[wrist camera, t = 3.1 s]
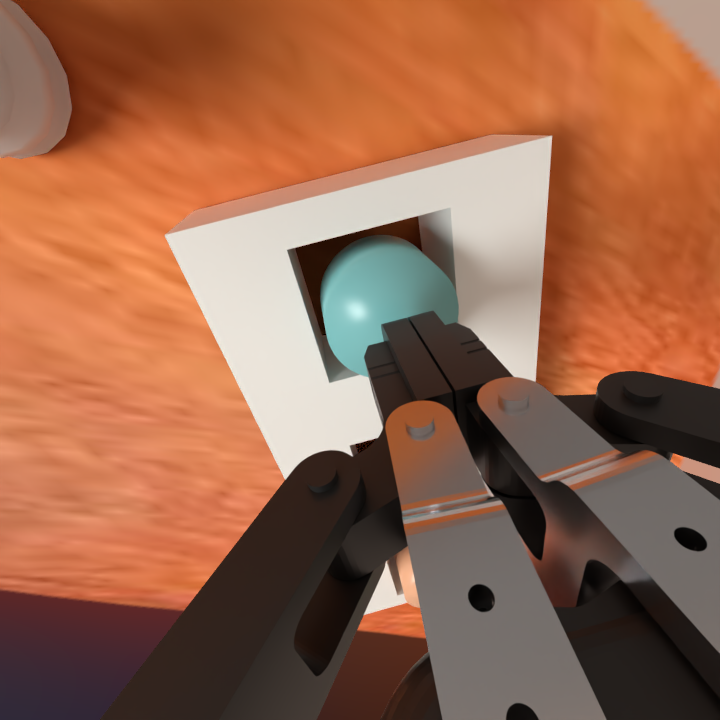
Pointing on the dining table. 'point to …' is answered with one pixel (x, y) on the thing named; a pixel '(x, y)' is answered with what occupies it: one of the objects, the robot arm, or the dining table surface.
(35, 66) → the rook chess piece
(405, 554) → the terracotta button
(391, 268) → the teal button
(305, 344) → the button console
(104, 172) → the dining table surface
